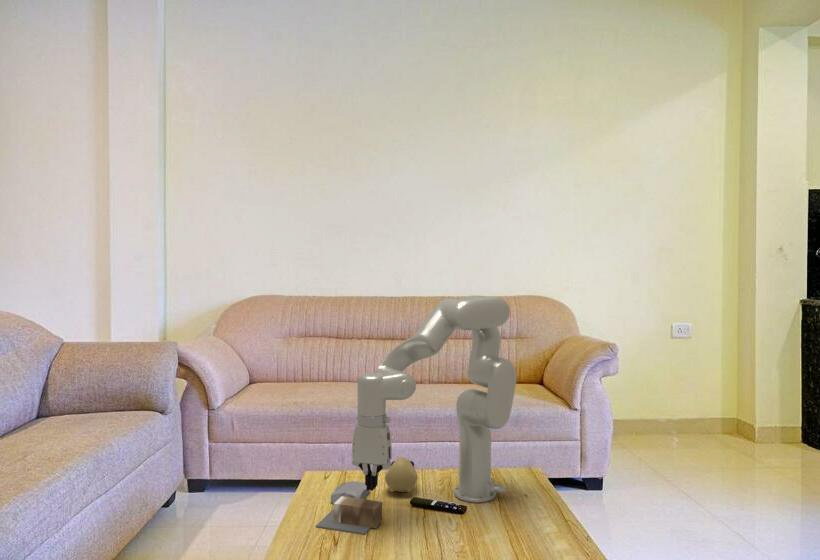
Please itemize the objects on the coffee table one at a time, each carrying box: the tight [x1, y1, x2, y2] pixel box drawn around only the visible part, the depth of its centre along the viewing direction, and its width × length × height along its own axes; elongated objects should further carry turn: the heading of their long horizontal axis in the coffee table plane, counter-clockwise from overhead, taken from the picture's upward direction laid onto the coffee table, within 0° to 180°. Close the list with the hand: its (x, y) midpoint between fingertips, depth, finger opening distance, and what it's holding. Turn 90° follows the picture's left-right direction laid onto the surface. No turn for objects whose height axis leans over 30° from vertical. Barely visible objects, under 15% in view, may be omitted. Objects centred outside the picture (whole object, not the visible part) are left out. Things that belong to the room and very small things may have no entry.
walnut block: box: [333, 496, 383, 529], centre depth 153 cm, size 5×5×12 cm
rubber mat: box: [315, 508, 372, 536], centre depth 154 cm, size 14×12×1 cm
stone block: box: [330, 480, 370, 506], centre depth 170 cm, size 12×5×10 cm
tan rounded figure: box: [384, 456, 418, 493], centre depth 175 cm, size 10×12×11 cm
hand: (371, 488), depth 152 cm, fingers closed
